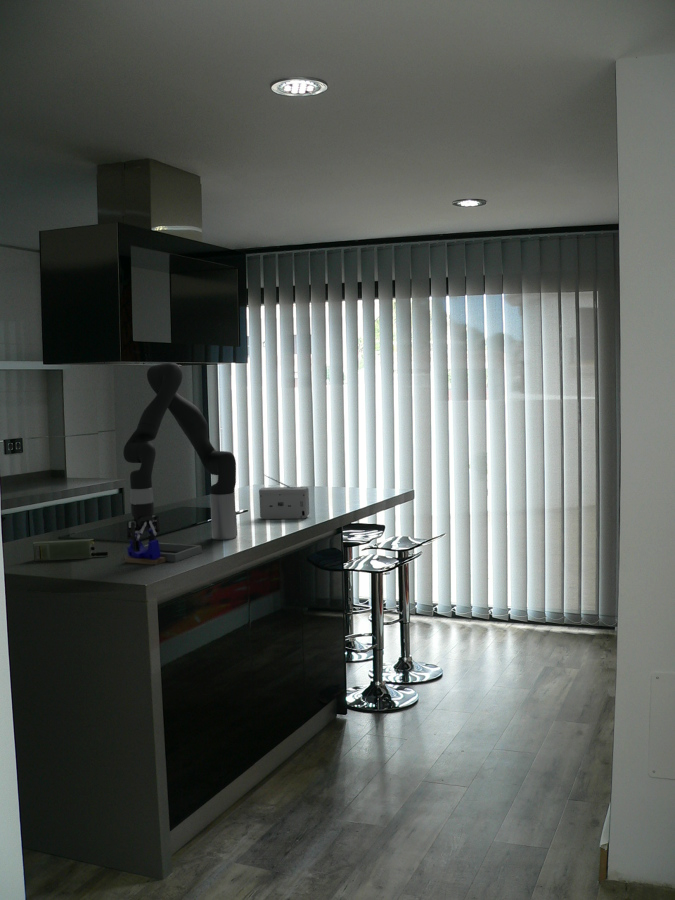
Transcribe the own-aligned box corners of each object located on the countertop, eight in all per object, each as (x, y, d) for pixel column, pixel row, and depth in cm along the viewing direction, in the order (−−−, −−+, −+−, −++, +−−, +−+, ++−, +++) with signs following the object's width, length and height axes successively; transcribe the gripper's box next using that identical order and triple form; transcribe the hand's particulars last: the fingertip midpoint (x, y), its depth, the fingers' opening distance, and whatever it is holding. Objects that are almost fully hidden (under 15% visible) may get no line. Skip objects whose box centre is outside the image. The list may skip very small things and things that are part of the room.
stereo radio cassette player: (309, 516, 370) (308, 470, 368) (307, 519, 361) (305, 472, 360) (262, 517, 372) (260, 471, 370) (258, 520, 364) (256, 473, 362)
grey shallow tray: (155, 549, 308) (154, 542, 308) (201, 552, 300) (201, 545, 299) (127, 557, 295) (127, 550, 295) (175, 561, 286) (175, 554, 286)
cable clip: (128, 555, 290) (125, 539, 288) (139, 551, 293) (136, 534, 291) (150, 561, 282) (147, 544, 280) (161, 556, 285) (158, 540, 284)
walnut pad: (134, 559, 293) (134, 554, 292) (165, 561, 287) (165, 557, 287) (125, 562, 288) (124, 557, 288) (156, 564, 282) (155, 560, 282)
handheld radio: (36, 559, 298) (109, 556, 300) (33, 562, 295) (107, 558, 297) (34, 541, 297) (107, 537, 299) (32, 543, 294) (106, 539, 296)
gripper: (146, 497, 294) (149, 544, 295) (119, 504, 281) (121, 552, 282) (164, 498, 290) (166, 545, 292) (137, 505, 278) (139, 554, 279)
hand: (144, 549), depth 287 cm, fingers open, 8 cm apart
